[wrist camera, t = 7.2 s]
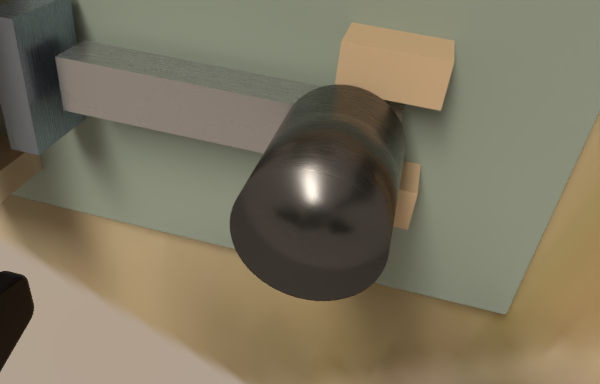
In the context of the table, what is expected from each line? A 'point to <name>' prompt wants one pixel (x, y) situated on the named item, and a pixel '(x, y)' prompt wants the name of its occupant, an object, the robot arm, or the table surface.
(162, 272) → the table surface
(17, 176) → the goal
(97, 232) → the table surface
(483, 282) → the pitch
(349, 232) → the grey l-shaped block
